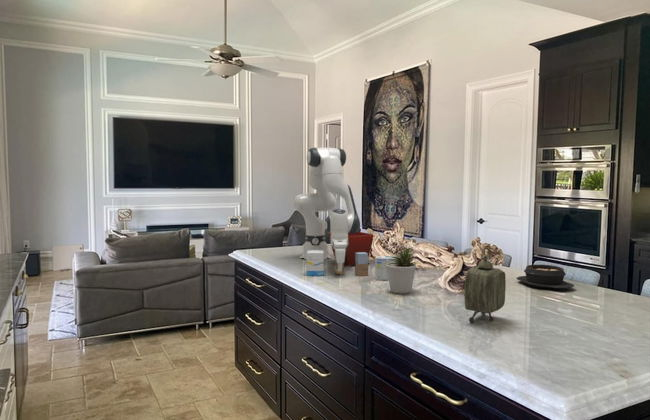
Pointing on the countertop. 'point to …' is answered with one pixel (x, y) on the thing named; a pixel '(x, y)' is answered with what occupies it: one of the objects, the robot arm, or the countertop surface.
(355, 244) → the plant pot
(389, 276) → the potted plant
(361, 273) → the tower base
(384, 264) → the light bulb box
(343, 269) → the brown cylinder
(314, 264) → the ink box
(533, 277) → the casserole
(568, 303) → the countertop surface
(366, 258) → the tower top
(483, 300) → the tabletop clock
